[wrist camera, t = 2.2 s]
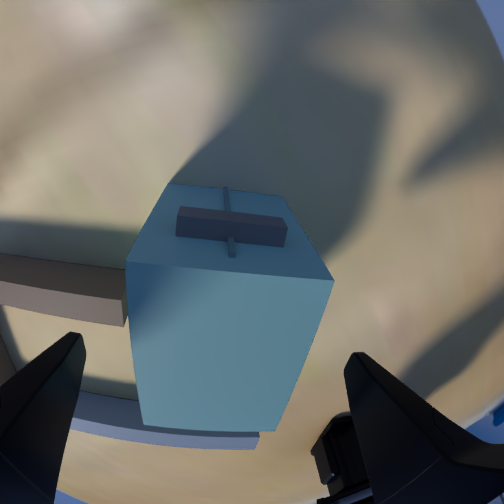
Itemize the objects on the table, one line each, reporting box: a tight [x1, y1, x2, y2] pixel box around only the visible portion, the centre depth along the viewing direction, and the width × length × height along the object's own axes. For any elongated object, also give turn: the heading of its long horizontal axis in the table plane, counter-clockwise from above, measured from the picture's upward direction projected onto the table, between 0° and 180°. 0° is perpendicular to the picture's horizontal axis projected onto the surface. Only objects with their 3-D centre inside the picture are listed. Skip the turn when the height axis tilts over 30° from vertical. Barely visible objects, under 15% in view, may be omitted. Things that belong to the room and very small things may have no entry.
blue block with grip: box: [125, 183, 334, 432], centre depth 12 cm, size 5×8×7 cm, turn 171°
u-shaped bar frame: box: [0, 253, 260, 450], centre depth 16 cm, size 21×13×2 cm, turn 81°
